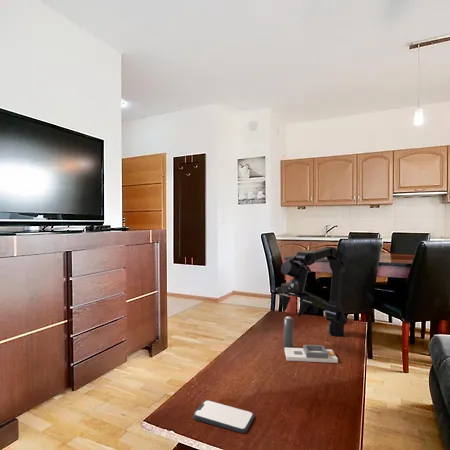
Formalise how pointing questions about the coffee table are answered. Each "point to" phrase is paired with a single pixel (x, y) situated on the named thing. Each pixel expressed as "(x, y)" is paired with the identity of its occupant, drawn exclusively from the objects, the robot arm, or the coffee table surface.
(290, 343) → the joystick
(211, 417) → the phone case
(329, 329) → the robot arm
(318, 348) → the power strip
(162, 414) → the coffee table surface
